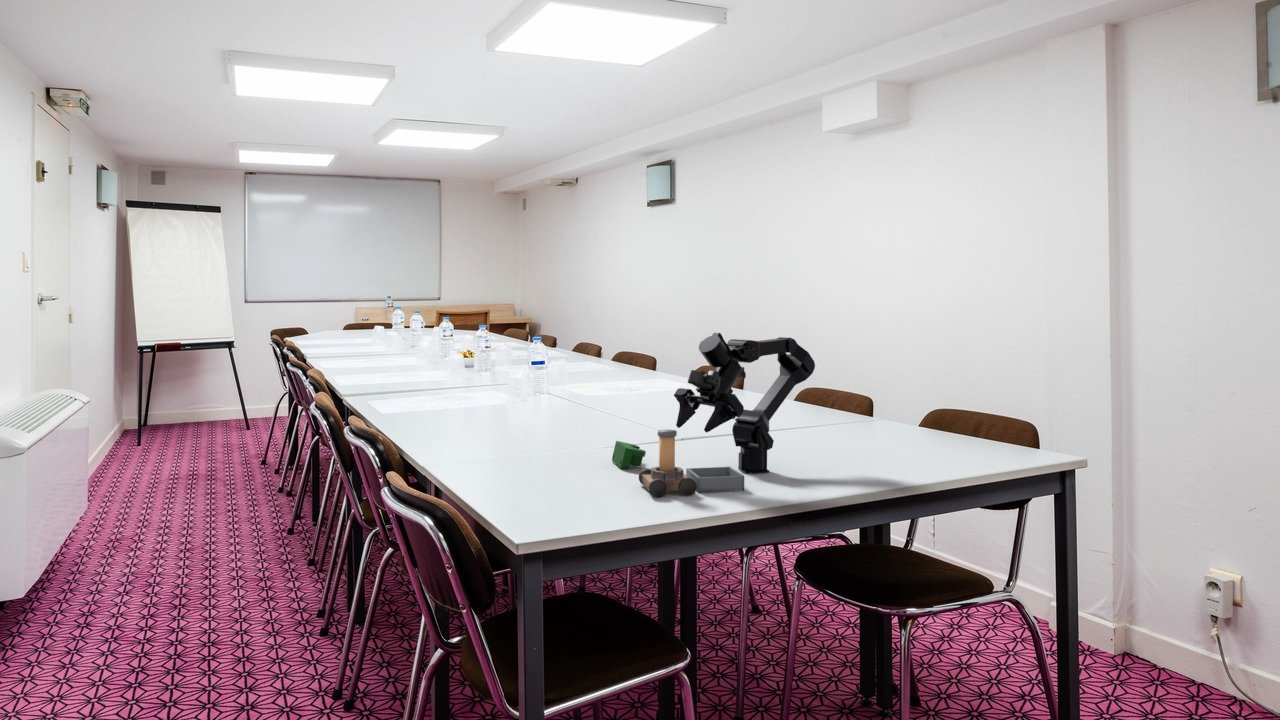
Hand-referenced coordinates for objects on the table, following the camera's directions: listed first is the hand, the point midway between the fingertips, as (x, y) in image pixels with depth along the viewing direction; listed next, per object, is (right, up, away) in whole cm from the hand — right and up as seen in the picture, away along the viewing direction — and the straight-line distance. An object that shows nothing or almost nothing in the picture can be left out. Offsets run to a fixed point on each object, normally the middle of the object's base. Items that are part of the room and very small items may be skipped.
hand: (691, 429), depth 196 cm
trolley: (-6, -14, -4) cm, 16 cm away
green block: (-15, -12, +25) cm, 31 cm away
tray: (+6, -14, -1) cm, 15 cm away
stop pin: (-6, -11, -5) cm, 13 cm away
